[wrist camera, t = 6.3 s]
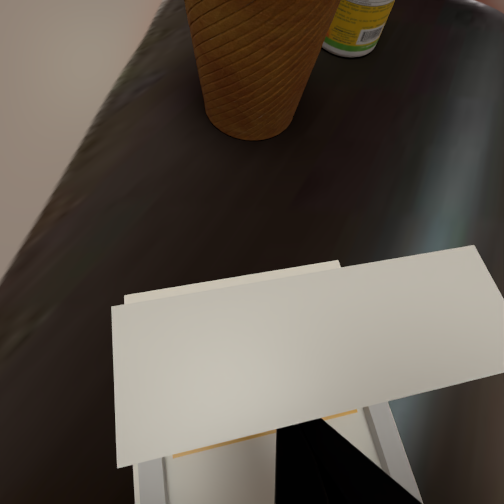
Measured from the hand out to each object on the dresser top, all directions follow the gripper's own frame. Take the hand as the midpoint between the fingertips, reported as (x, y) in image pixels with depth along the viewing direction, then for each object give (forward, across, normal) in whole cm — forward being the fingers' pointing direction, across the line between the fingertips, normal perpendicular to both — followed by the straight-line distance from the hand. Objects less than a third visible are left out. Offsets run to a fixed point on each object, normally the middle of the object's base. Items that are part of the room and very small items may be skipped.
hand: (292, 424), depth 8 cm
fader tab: (+4, 0, +2) cm, 5 cm away
